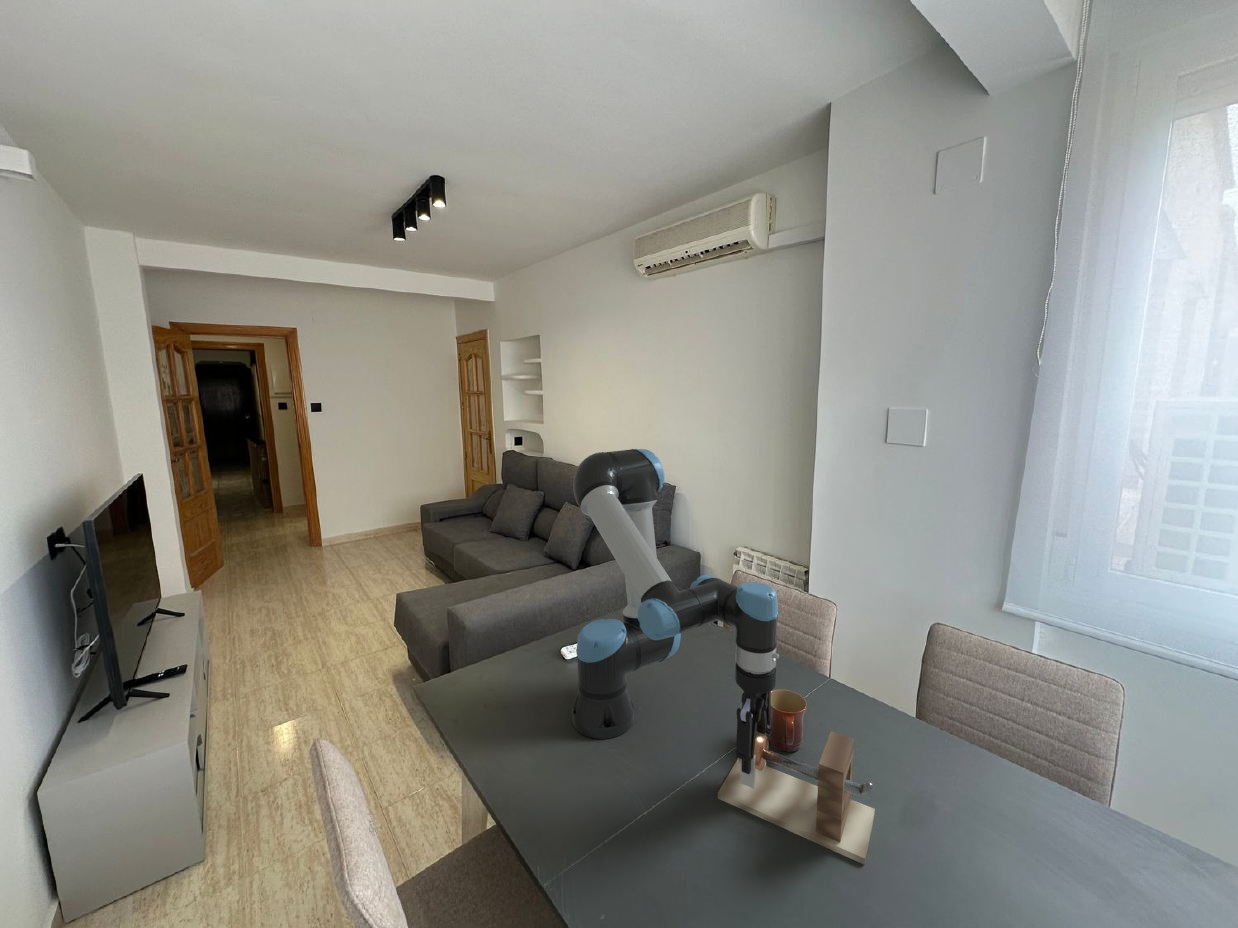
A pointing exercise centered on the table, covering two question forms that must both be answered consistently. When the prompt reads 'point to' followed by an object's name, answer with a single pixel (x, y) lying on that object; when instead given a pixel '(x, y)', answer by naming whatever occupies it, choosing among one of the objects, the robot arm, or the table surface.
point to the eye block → (834, 786)
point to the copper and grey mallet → (798, 766)
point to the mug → (787, 719)
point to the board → (797, 809)
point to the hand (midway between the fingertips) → (753, 773)
